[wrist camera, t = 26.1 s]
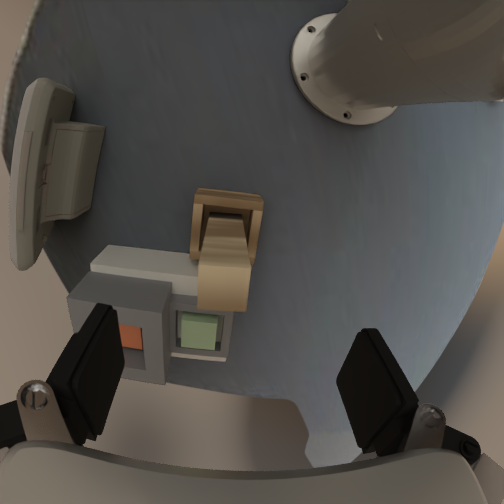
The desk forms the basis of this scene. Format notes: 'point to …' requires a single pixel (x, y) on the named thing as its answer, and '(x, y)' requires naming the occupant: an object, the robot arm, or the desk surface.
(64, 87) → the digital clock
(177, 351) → the push button control box
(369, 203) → the desk surface
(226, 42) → the desk surface
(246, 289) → the tall wooden block
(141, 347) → the plunger
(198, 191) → the holder
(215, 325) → the on button
